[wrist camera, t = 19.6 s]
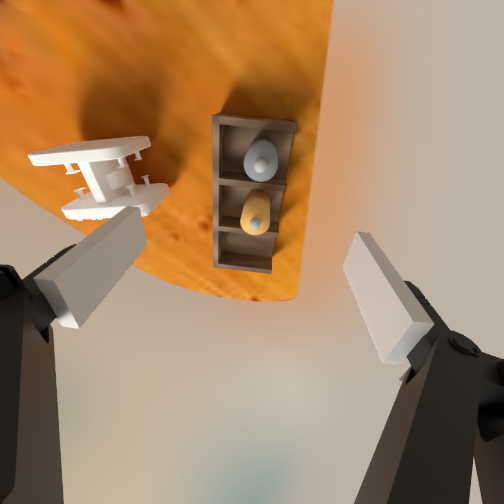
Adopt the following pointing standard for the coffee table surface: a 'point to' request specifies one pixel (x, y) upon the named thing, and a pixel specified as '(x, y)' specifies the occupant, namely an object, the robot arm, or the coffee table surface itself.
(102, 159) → the cable organizer
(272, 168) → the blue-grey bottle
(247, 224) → the yellow knobbed cylinder
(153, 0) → the coffee table surface
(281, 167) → the brown compartment tray
